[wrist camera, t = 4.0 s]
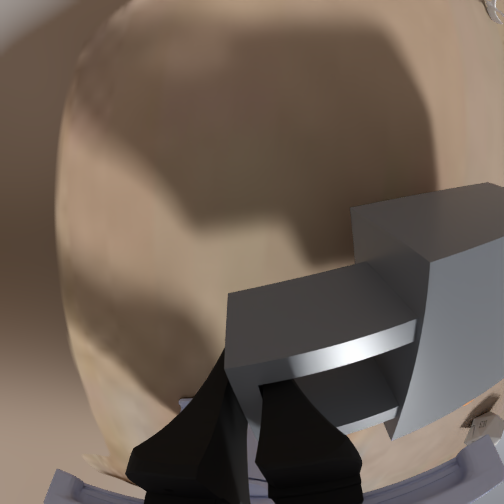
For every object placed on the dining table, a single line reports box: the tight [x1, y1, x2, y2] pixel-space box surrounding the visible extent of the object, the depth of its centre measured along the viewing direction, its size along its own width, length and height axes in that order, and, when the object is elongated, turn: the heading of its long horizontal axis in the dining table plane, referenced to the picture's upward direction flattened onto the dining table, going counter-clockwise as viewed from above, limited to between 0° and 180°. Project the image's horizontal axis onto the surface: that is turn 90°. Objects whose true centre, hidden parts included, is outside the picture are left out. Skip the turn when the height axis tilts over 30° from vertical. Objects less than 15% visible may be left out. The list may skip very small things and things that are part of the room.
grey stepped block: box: [224, 182, 504, 442], centre depth 11 cm, size 16×10×6 cm, turn 102°
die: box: [464, 411, 504, 446], centre depth 27 cm, size 8×9×10 cm
